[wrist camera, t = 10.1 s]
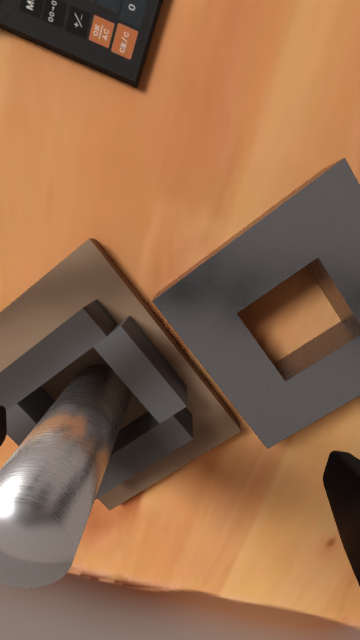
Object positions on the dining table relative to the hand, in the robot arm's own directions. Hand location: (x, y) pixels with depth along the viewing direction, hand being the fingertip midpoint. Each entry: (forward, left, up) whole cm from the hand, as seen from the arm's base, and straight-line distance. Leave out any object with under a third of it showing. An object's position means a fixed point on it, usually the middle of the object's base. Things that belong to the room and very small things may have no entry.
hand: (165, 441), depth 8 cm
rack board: (0, +7, -12) cm, 13 cm away
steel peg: (0, +7, -11) cm, 12 cm away
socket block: (-3, -6, -12) cm, 14 cm away
